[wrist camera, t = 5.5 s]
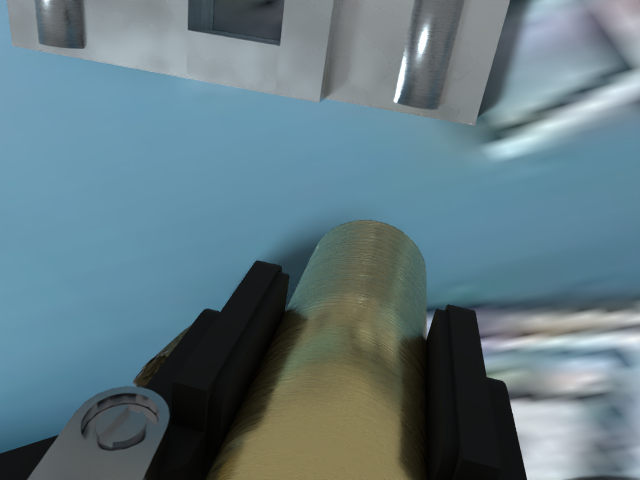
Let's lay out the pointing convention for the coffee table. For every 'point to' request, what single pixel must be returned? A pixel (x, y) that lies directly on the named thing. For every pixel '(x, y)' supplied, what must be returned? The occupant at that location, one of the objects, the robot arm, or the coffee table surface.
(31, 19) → the plate with square hole
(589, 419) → the coffee table surface
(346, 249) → the brass pin
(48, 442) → the robot arm
